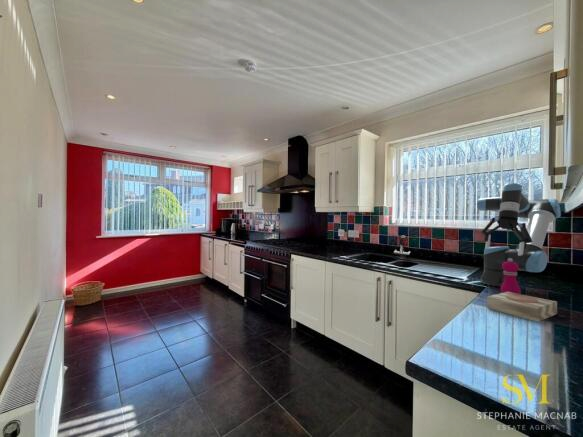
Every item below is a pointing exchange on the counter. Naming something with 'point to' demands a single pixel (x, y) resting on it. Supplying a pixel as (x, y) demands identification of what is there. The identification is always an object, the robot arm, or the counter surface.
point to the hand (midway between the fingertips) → (503, 251)
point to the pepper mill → (510, 277)
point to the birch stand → (522, 305)
